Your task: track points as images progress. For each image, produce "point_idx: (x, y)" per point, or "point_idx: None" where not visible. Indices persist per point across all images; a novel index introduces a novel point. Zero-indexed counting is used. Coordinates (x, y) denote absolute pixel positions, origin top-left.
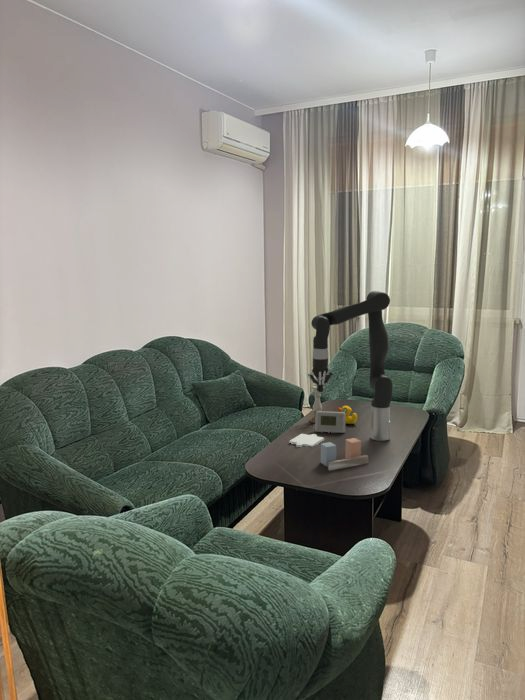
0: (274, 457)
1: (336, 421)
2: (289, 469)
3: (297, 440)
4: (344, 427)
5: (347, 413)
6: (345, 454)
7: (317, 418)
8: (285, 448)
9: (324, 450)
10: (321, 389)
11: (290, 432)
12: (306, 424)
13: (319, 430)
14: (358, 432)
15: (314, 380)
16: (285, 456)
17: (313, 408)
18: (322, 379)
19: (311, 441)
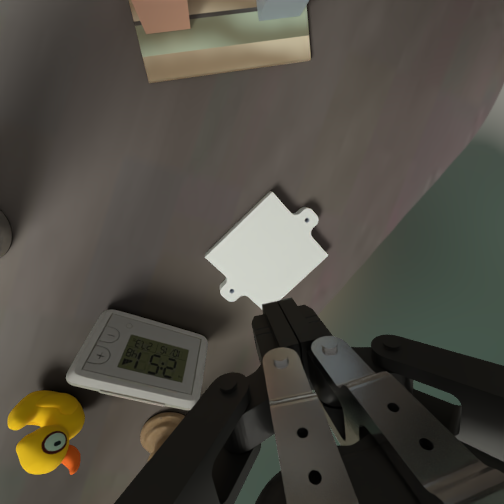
0: (411, 143)
1: (123, 347)
2: (412, 12)
3: (302, 252)
4: (99, 322)
5: (47, 427)
6: (189, 19)
7: (196, 375)
8: (350, 213)
9: None
10: (280, 312)
11: None
12: None
13: (195, 334)
14: (48, 308)
15: (465, 365)
16: (377, 141)
17: None
18: (318, 400)
19: (261, 231)
